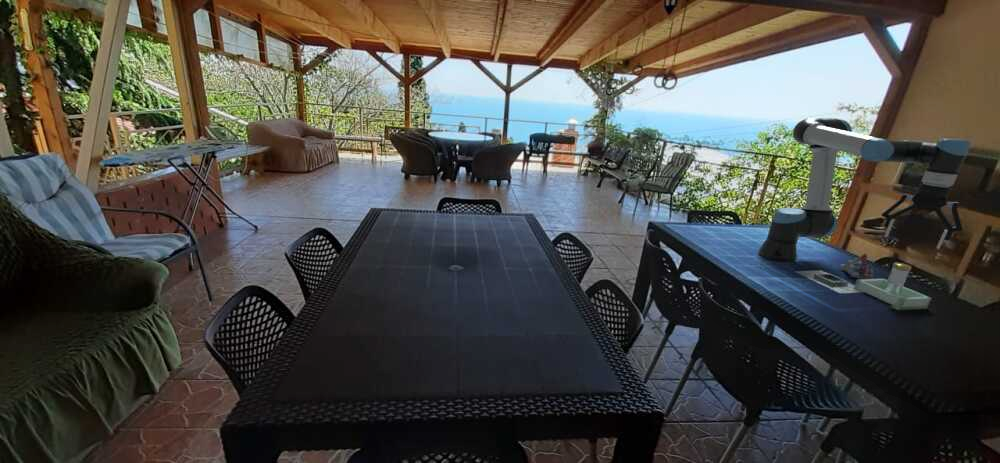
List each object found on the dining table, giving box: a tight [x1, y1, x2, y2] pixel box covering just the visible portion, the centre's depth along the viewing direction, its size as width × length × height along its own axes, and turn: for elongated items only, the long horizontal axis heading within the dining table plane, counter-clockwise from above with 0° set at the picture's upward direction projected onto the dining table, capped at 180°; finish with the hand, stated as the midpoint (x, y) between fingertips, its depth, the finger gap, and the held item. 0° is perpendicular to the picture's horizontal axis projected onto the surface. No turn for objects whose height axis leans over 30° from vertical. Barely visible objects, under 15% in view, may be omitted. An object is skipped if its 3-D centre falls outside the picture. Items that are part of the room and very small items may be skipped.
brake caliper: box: [839, 253, 874, 280], centre depth 166 cm, size 11×11×12 cm
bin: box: [854, 278, 932, 311], centre depth 148 cm, size 16×13×4 cm
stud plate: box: [794, 270, 864, 294], centre depth 159 cm, size 20×14×2 cm
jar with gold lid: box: [884, 262, 913, 296], centre depth 146 cm, size 5×5×13 cm
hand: (911, 241), depth 141 cm, fingers open, 13 cm apart
